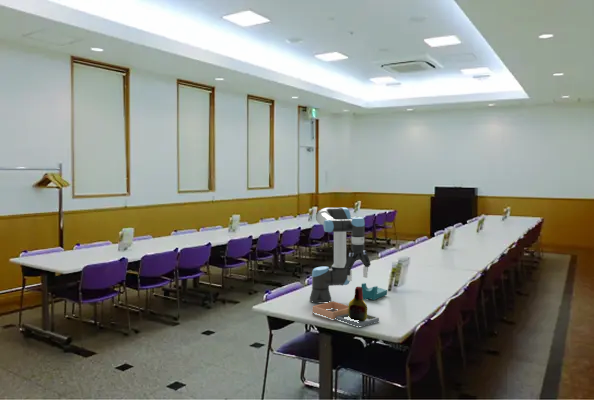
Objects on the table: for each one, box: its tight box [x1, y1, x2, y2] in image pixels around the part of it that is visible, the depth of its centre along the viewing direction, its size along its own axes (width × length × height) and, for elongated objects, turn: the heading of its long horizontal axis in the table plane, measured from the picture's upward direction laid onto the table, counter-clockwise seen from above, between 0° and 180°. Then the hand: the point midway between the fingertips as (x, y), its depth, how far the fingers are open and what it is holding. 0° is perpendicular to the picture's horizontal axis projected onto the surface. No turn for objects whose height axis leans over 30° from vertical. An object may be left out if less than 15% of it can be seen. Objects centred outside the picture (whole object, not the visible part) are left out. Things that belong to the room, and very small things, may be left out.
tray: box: [336, 313, 380, 327], centre depth 284 cm, size 18×18×2 cm
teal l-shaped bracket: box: [360, 282, 388, 301], centre depth 339 cm, size 18×11×10 cm, turn 140°
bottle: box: [347, 286, 368, 321], centre depth 284 cm, size 12×6×20 cm, turn 53°
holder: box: [312, 300, 349, 319], centre depth 297 cm, size 18×18×5 cm
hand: (357, 279), depth 283 cm, fingers open, 13 cm apart
